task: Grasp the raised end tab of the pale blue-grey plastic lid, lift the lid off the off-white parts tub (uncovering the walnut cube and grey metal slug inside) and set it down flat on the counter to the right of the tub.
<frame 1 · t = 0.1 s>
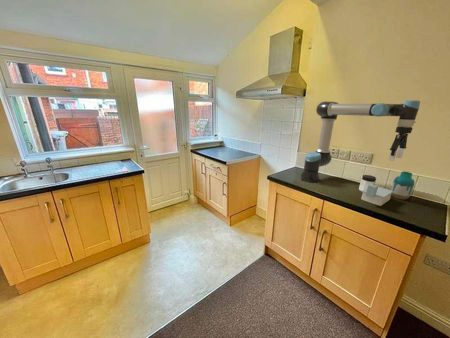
hand: (394, 159, 125), 28 cm above the countertop, fingers open, 13 cm apart
part a: (373, 196, 133), point 1 cm above the countertop, touching tub
part b: (377, 202, 125), point 1 cm above the countertop, touching tub
tub: (375, 200, 129), on the countertop
green capped bottle: (398, 198, 133), on the countertop
jar: (365, 191, 143), on the countertop
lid: (377, 191, 127), point 6 cm above the countertop, touching tub
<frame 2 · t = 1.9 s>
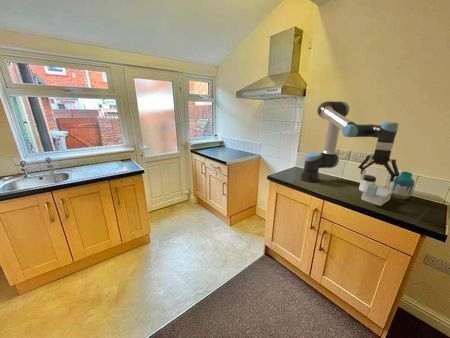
hand: (374, 182, 118), 16 cm above the countertop, fingers open, 13 cm apart
nothing on the countertop moved.
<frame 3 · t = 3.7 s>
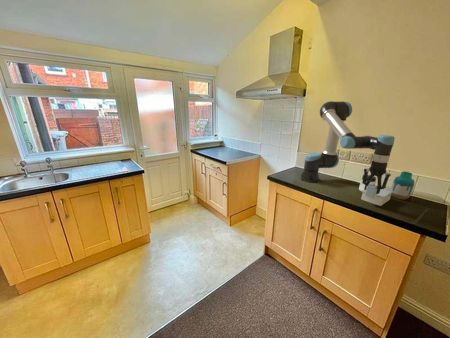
hand: (370, 196, 121), 6 cm above the countertop, fingers closed on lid, 4 cm apart
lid: (377, 191, 127), point 7 cm above the countertop, touching gripper, tub
everything else where it was.
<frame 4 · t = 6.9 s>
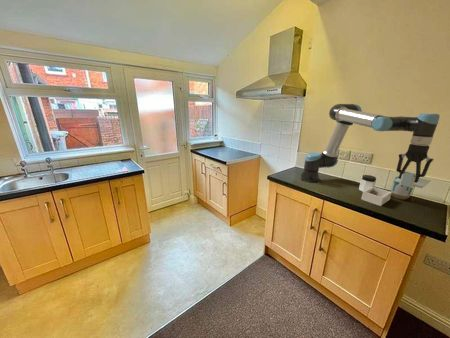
hand: (405, 185, 105), 19 cm above the countertop, fingers closed on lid, 4 cm apart
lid: (412, 181, 111), point 19 cm above the countertop, touching gripper
everything else where it was.
when the fingers open (2 cm above the countertop, at t = 10.0 s): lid drops 1 cm, point 1 cm above the countertop.
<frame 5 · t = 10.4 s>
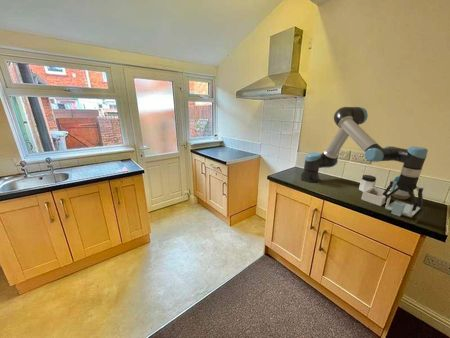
hand: (397, 211, 111), 3 cm above the countertop, fingers open, 10 cm apart
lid: (402, 208, 117), point 1 cm above the countertop
everything else where it was.
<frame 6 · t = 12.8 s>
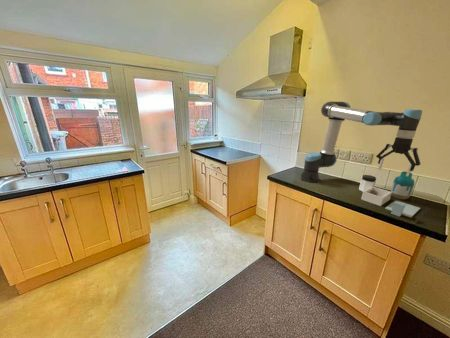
hand: (392, 172, 115), 23 cm above the countertop, fingers open, 13 cm apart
nothing on the countertop moved.
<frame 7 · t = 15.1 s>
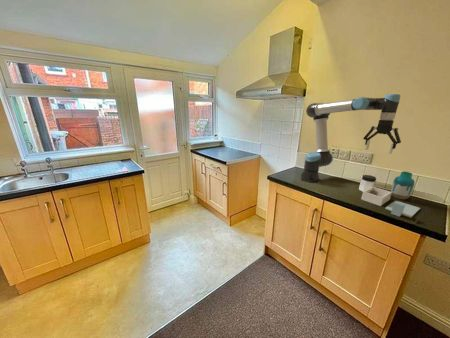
hand: (377, 151, 130), 32 cm above the countertop, fingers open, 13 cm apart
nothing on the countertop moved.
at the end: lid inside the target area (0.7 cm from its centre), point 0.8 cm above the countertop; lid touching countertop; the gripper is holding nothing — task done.
